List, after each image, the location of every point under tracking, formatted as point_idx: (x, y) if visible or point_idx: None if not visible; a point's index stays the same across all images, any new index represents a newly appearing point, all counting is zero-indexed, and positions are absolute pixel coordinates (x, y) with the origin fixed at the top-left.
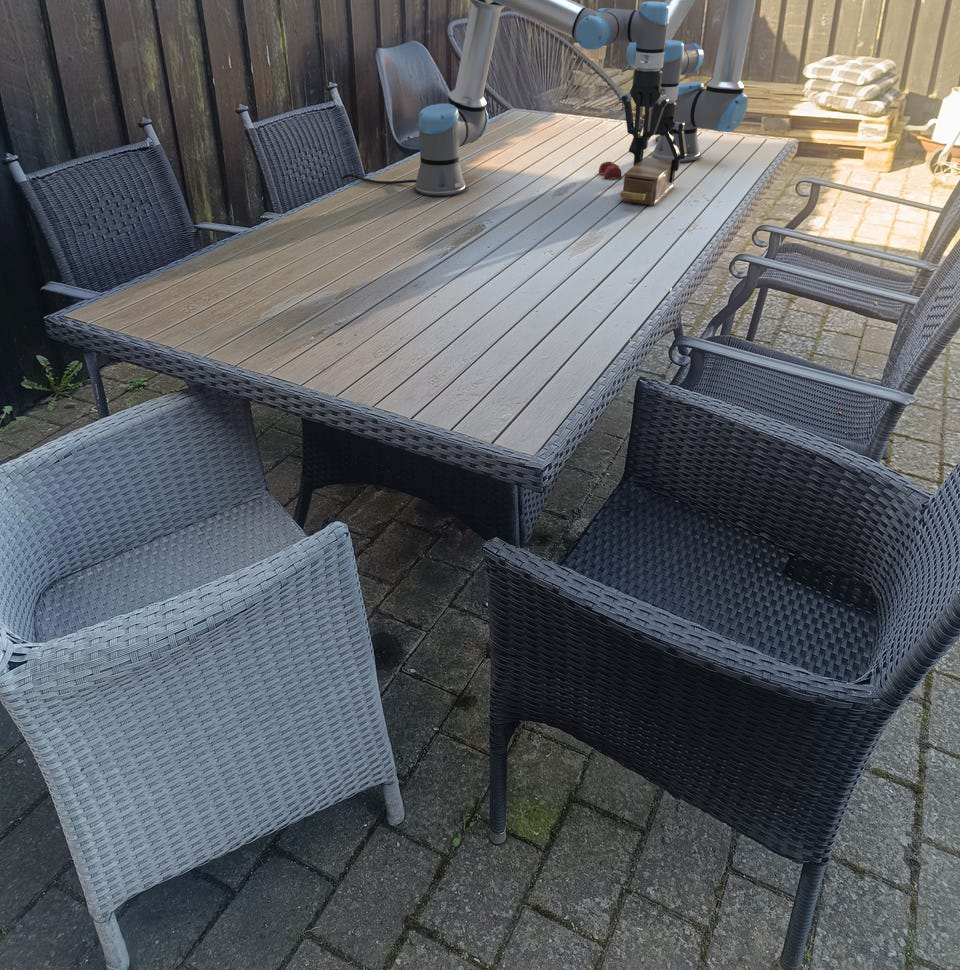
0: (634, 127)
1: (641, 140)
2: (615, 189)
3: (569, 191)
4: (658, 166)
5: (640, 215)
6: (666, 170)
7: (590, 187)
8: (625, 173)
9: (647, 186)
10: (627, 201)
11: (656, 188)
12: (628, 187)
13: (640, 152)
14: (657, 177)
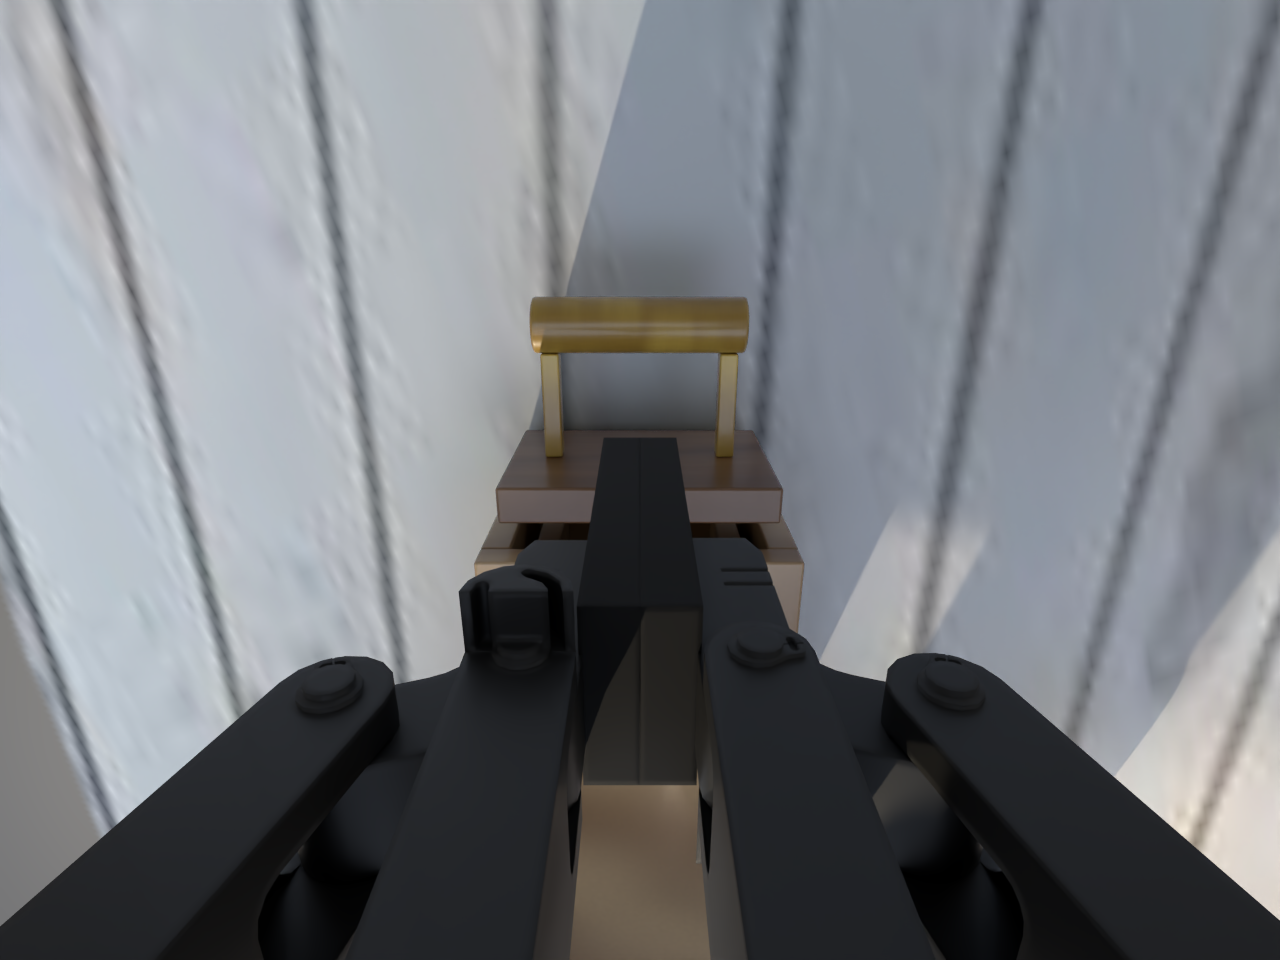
0: (853, 775)
1: (592, 580)
2: None
3: (1175, 517)
4: (587, 841)
5: (528, 198)
6: None
7: (1038, 653)
8: (796, 563)
9: (552, 473)
10: None
11: (494, 521)
12: (723, 463)
13: (599, 485)
14: (477, 563)
